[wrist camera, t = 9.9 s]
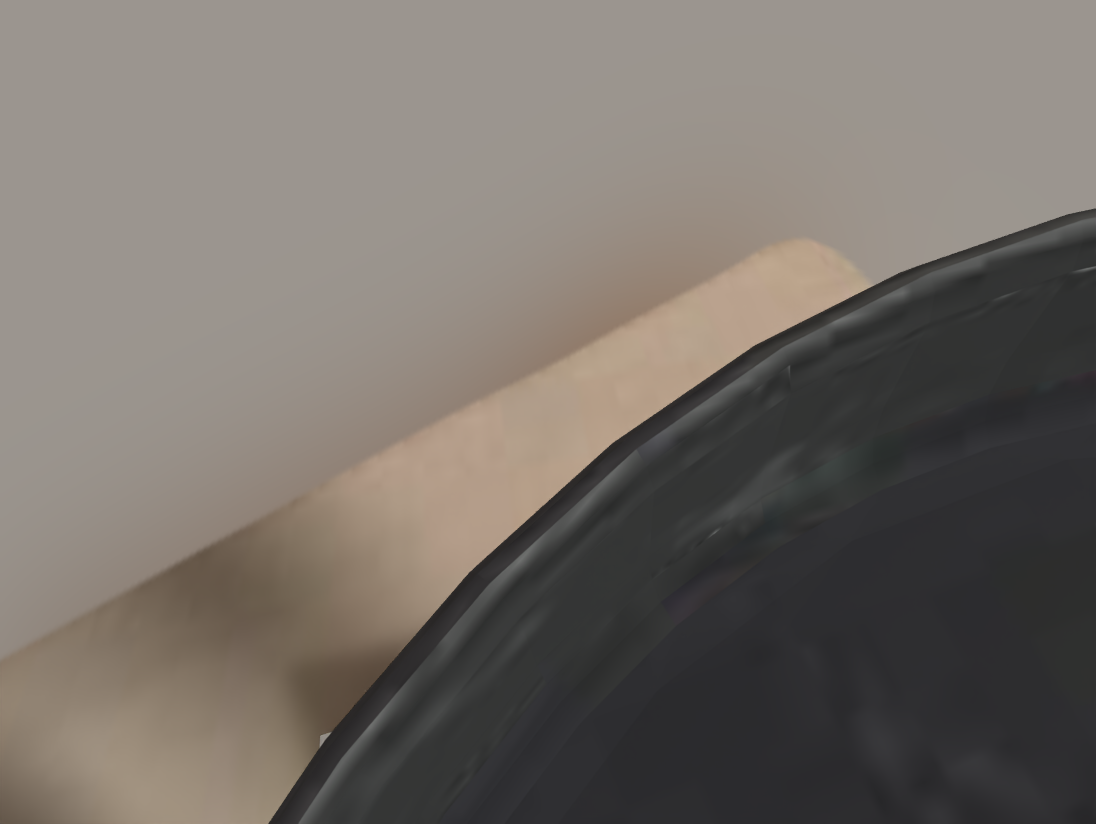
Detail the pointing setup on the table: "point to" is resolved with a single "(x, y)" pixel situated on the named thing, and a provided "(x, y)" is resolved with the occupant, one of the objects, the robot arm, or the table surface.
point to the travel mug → (787, 589)
